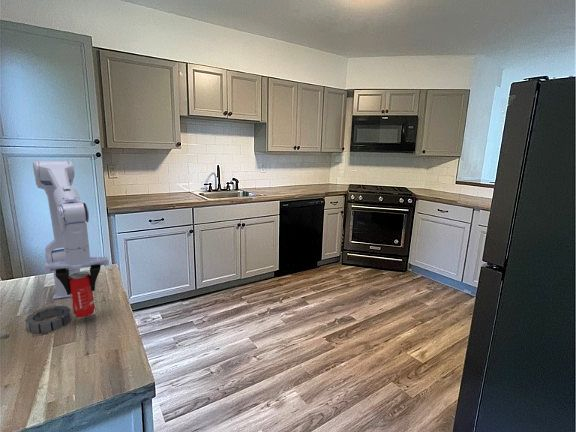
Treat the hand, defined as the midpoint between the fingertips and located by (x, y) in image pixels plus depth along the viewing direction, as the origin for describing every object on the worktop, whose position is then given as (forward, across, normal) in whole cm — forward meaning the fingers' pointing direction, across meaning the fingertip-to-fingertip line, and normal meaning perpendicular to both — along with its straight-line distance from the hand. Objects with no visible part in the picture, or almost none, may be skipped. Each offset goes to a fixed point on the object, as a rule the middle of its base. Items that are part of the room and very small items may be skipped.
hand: (81, 291), depth 90 cm
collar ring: (+9, -8, +2) cm, 12 cm away
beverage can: (+7, 0, 0) cm, 7 cm away
